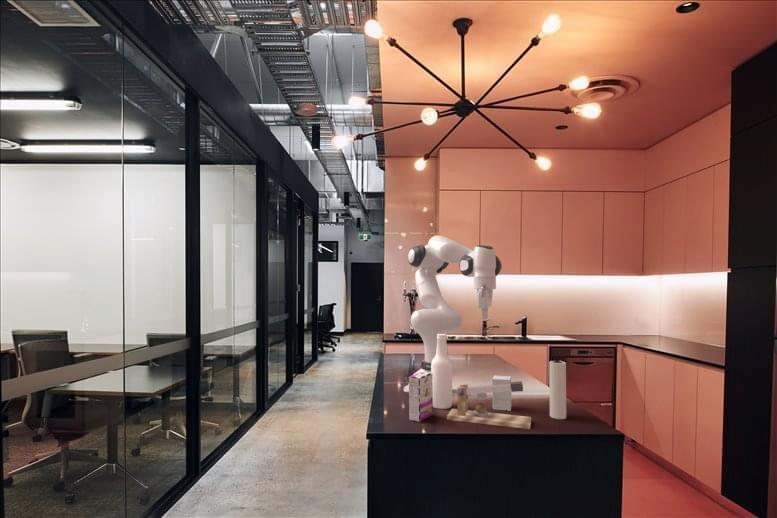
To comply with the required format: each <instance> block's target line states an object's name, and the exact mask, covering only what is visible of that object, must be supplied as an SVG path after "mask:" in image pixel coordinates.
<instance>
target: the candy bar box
mask: <svg viewBox="0 0 777 518" xmlns="http://www.w3.org/2000/svg"><path fill="white" fill-rule="evenodd" d="M408 384H409V392H408V408H409V409H408V419H409V420H408V421H412V422H418V423H420V422H423V421H424V420H426V419H427V418H429V417H431V416H434V413H433V411H434V410H433V409H434V407H433V388H432V373H430V372H420V373H417V374H415V375H413V374H412V375H410V376H408Z"/></svg>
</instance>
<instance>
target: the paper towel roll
mask: <svg viewBox="0 0 777 518" xmlns="http://www.w3.org/2000/svg"><path fill="white" fill-rule="evenodd" d="M548 362H549V363H548V364H549V367H548V368H549V370H548V371H549V376H548V377H549V379H548V381H549V387H548V389H549V417H550V418H551V419H556V420H566V419H567V362H565V361H562V360H550V361H548Z"/></svg>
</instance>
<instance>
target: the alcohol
mask: <svg viewBox="0 0 777 518" xmlns="http://www.w3.org/2000/svg"><path fill="white" fill-rule="evenodd" d="M447 345H448V344H447V333H437V350H436V356H435V357H434V359H433V360H432V363H431V373H432V388H433V409H438V410H447V409H450V408H451V409H452V406H453V362H452V360H451V358H450V357H449V354H448V355H447Z"/></svg>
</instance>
